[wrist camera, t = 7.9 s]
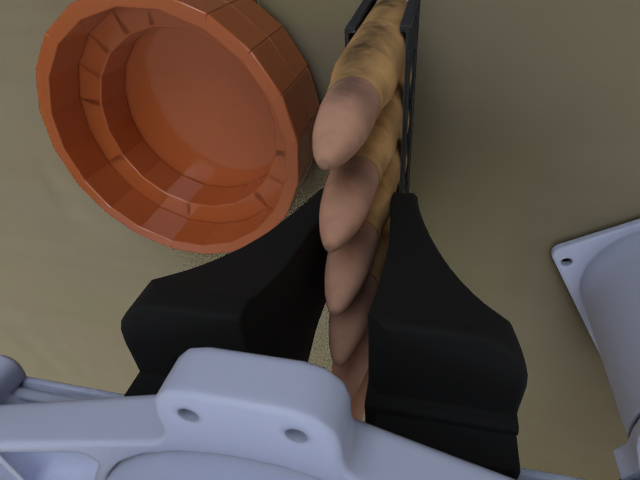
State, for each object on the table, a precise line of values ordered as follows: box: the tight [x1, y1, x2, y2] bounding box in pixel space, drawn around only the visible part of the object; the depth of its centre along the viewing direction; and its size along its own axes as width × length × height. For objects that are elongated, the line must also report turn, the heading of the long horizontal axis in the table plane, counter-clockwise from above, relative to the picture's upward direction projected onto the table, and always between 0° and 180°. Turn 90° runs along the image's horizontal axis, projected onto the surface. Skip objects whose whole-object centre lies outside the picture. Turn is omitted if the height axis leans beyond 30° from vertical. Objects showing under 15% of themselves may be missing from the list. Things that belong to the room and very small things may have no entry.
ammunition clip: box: [313, 0, 420, 421], centre depth 15 cm, size 11×2×12 cm, turn 4°
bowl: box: [36, 0, 320, 254], centre depth 21 cm, size 12×12×4 cm
